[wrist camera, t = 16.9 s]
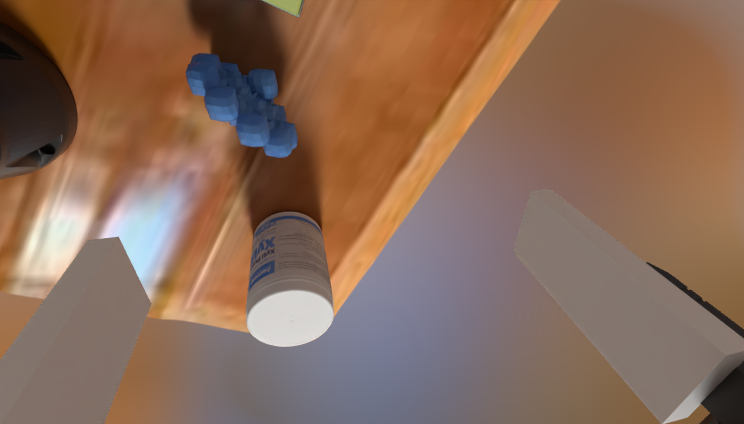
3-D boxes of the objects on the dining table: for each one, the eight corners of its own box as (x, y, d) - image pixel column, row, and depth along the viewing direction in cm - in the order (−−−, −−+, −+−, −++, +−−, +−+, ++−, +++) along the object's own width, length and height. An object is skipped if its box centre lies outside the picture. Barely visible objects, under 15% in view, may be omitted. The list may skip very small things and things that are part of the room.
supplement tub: (258, 203, 46) (250, 283, 34) (329, 213, 49) (345, 289, 37) (249, 260, 50) (239, 348, 38) (314, 266, 53) (324, 349, 41)
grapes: (317, 96, 40) (330, 134, 30) (280, 139, 42) (280, 188, 32) (225, 14, 34) (203, 29, 24) (186, 69, 36) (150, 103, 26)
